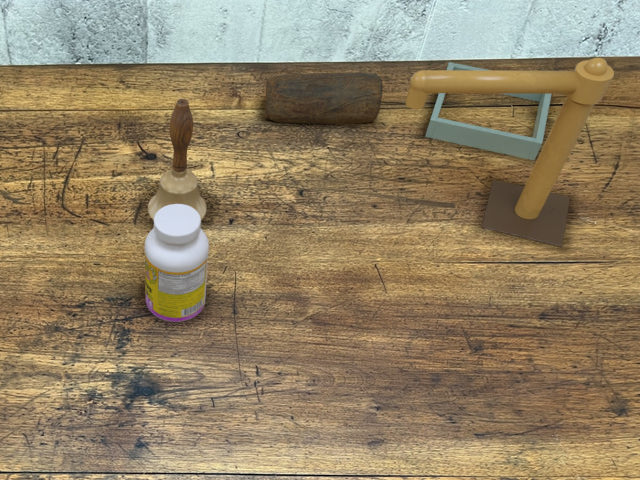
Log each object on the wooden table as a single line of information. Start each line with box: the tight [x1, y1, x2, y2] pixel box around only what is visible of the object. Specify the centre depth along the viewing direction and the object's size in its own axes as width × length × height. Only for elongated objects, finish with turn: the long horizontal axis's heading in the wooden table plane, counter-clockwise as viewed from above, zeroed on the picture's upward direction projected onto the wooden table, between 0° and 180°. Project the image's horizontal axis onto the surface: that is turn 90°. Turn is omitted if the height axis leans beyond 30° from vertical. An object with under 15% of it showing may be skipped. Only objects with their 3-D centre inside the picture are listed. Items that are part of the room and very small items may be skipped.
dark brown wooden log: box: [263, 72, 384, 125], centre depth 108 cm, size 15×7×7 cm, turn 90°
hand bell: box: [147, 98, 207, 221], centre depth 94 cm, size 8×8×16 cm
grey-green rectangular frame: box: [424, 61, 552, 161], centre depth 107 cm, size 14×14×4 cm
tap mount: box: [481, 96, 595, 248], centre depth 91 cm, size 9×9×17 cm
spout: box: [404, 57, 615, 110], centre depth 84 cm, size 20×4×5 cm, turn 87°
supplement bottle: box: [144, 204, 210, 323], centre depth 86 cm, size 7×7×13 cm
